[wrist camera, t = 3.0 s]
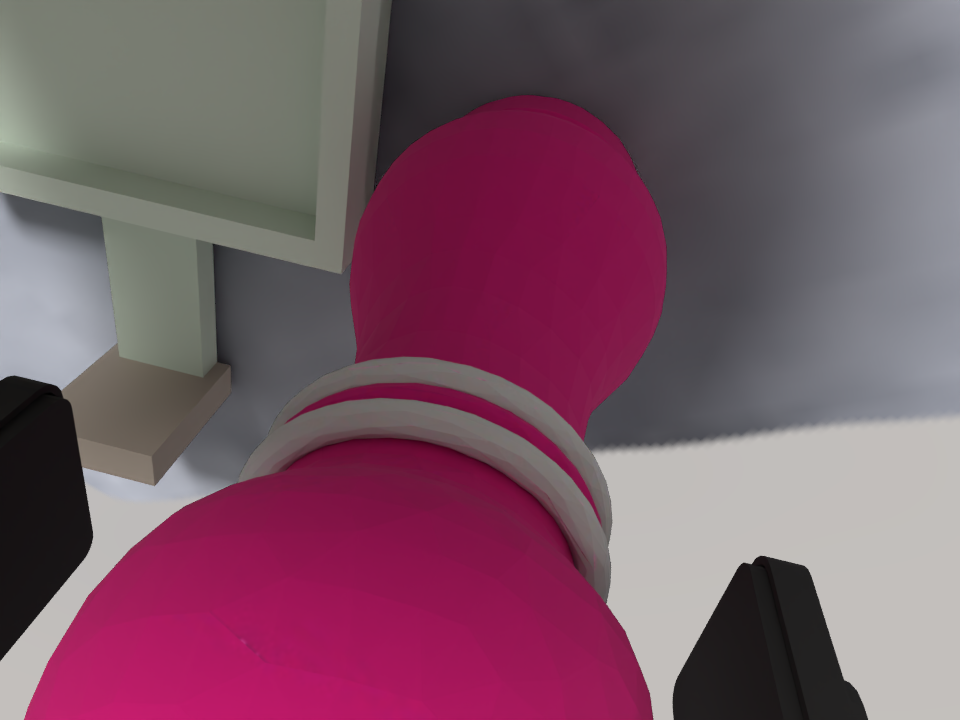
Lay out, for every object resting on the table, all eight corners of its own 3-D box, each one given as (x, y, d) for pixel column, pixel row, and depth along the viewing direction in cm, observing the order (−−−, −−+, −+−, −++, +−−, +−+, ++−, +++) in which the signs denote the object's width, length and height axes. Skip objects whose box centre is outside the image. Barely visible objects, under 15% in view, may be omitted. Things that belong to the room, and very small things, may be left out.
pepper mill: (363, 226, 22) (-522, 1292, 5) (500, 12, 18) (-1279, 1448, 1) (552, 359, 23) (358, 1550, 6) (716, 185, 19) (1325, 2014, 2)
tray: (425, -351, 14) (342, -458, 10) (351, 422, 25) (297, 523, 21) (-174, -468, 15) (-484, -615, 11) (10, 336, 26) (-108, 417, 22)
